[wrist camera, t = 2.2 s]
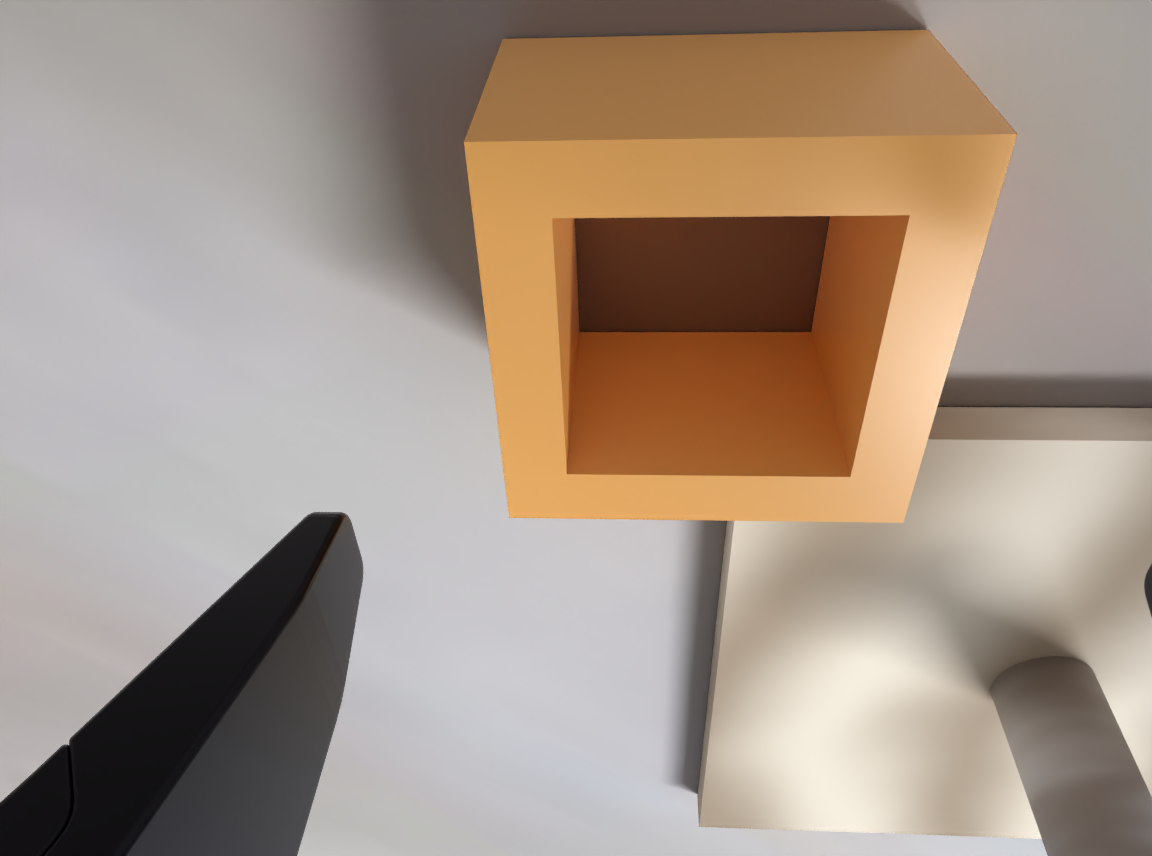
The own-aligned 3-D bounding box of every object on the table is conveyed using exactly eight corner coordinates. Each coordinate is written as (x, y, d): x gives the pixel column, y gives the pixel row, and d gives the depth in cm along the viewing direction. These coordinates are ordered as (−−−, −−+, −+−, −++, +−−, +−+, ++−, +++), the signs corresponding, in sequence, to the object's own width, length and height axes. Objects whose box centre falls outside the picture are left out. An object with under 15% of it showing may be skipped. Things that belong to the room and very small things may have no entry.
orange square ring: (928, 29, 13) (1017, 133, 10) (856, 374, 17) (903, 522, 14) (503, 38, 14) (463, 141, 10) (531, 373, 18) (509, 517, 15)
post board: (1581, 410, 17) (2018, 745, 12) (1218, 813, 27) (1361, 1088, 22) (739, 405, 18) (783, 712, 13) (697, 795, 28) (711, 1055, 23)
